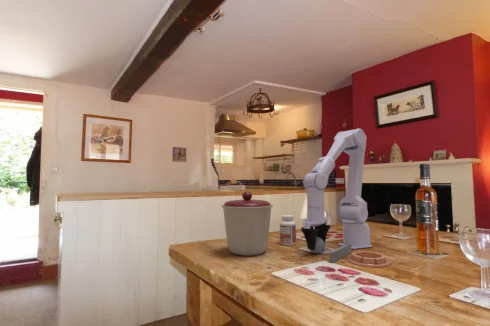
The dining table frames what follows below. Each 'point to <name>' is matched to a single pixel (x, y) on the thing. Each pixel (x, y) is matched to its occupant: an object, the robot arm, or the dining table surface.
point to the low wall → (340, 253)
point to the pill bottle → (287, 230)
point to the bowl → (368, 259)
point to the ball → (319, 246)
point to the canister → (247, 225)
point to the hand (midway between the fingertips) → (316, 247)
